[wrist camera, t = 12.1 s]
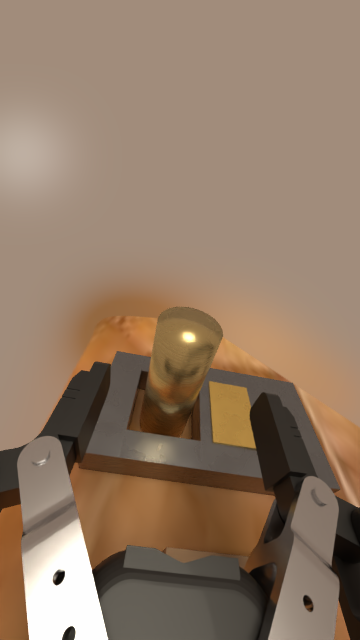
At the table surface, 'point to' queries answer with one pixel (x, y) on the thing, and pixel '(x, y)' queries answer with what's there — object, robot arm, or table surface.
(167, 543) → the table surface
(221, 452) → the rack plate
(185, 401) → the peg
